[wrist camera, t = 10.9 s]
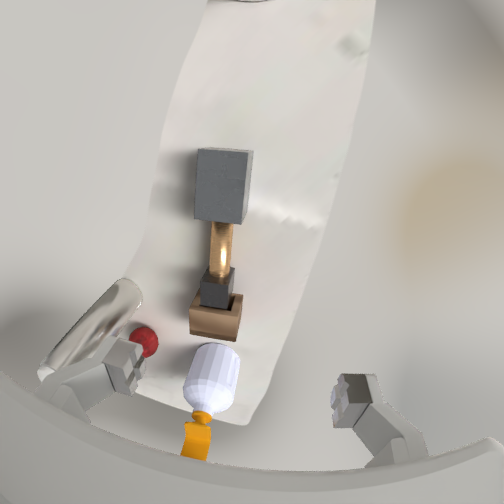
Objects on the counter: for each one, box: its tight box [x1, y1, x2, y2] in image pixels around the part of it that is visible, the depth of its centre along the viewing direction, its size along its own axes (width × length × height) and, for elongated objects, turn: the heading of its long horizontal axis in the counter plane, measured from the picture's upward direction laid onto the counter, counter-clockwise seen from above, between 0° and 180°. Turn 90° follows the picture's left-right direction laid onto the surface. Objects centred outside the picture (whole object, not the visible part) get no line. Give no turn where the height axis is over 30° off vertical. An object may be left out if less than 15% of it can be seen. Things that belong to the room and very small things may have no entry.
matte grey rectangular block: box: [194, 147, 253, 225], centre depth 35 cm, size 9×6×6 cm
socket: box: [189, 288, 243, 342], centre depth 43 cm, size 5×7×6 cm
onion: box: [129, 327, 159, 358], centre depth 47 cm, size 6×6×8 cm
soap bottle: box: [180, 343, 240, 461], centre depth 40 cm, size 9×9×25 cm
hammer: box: [200, 221, 235, 310], centre depth 40 cm, size 17×4×6 cm, turn 174°
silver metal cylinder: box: [37, 279, 143, 382], centre depth 36 cm, size 6×6×25 cm
